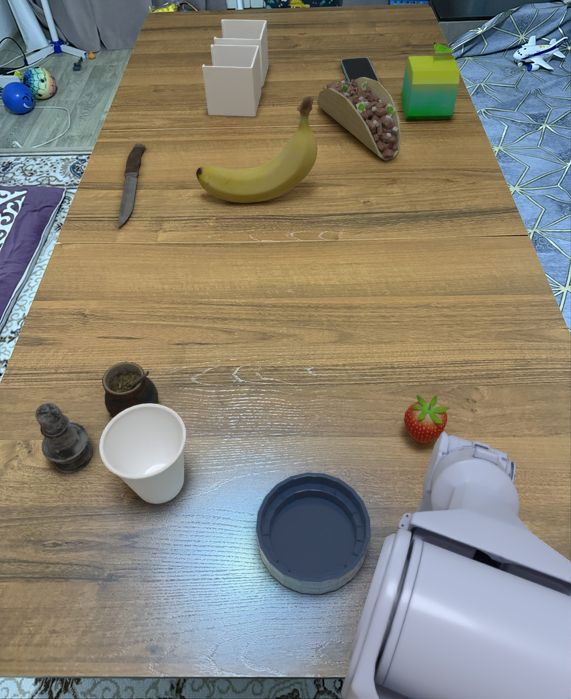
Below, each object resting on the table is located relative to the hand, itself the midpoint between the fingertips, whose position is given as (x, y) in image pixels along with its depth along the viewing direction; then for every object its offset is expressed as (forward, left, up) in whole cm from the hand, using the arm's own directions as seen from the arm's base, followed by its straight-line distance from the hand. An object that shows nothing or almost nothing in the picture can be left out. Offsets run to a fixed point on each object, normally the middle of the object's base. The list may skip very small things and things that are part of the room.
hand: (422, 568), depth 65 cm
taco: (+93, -23, -2) cm, 96 cm away
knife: (+86, +27, -2) cm, 90 cm away
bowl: (+7, +11, -2) cm, 13 cm away
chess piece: (+26, +39, -2) cm, 47 cm away
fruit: (+17, -7, -2) cm, 18 cm away
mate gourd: (+31, +30, -2) cm, 43 cm away
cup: (+19, +28, -2) cm, 34 cm away
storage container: (+119, -2, -2) cm, 119 cm away
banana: (+75, +3, -2) cm, 75 cm away
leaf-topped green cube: (+97, -41, -2) cm, 105 cm away
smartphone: (+117, -32, -2) cm, 121 cm away
